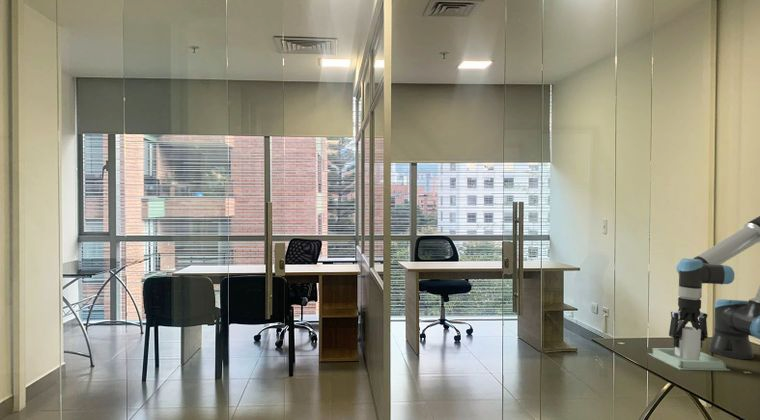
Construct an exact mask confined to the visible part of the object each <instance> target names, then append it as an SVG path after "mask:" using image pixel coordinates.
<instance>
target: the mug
mask: <svg viewBox="0 0 760 420" xmlns="http://www.w3.org/2000/svg"><path fill="white" fill-rule="evenodd" d="M680 339H681V340H682V357H680V358H682V359H685V360H689V361H699V353H700V352H701V349H700V339H701V329H698V330H696V329H695V328H694V327H692V326H685V328H682V336H681V338H680Z"/></svg>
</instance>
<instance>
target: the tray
mask: <svg viewBox="0 0 760 420" xmlns="http://www.w3.org/2000/svg"><path fill="white" fill-rule="evenodd" d="M648 354H649V355H648ZM647 355H648V356H650V355H651V357H653V358H654V359H657V360H659V361H661V362H663V363H665V364H667V365H669V366H671V367H673V368H675V369H678V370H679V371H726V372H727V371H729V372H730V371H731V369H729V368H727V367H726V365H727V364H726V363H727V362H726V361H725V360H722V359H720V358H717V357H714V356H713V355H709V354H707V353H705V352H703V351H700V357H699V361H689V360H685V359H682V358H680V356H677V355H675V347H674V348H673V347H672V348H671V347H669V348H668V347H667V348H665V347H661V348H660V347H659V348H657V347H653V348H651V353H649V352H647Z"/></svg>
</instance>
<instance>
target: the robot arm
mask: <svg viewBox="0 0 760 420" xmlns="http://www.w3.org/2000/svg"><path fill="white" fill-rule="evenodd" d="M758 243H760V215H759V216H757V217H755V218H753V219H752V220H751V219H750V221H748V222H747V223H745V224H744V225H743V228H741V229H740V230H738V231H737V232H735V233H733V234H732V235H729V236H728V237H726V238H724V239H723V240H722V241H720V242H718V243H717V244H715V245H714V246H712V247H710V248H708V249H707V250H704V251H703V252H702V253H700V254H698V255H697V256H695V257H693V258H682V259H680V261H679V262H678V263H677V265H676V272H677V273H678V292H677V293H678V294H677V295H678V296H679V297H678V298H677V306H678V310H677V311H670V317H671V318H670V325H669V330H668V336H669V337H671V338H673V346H674V349H675V355H677V356H680V357H682V340H681V339H680V338H681V336H682V328H685V326H686V325H688V323H689V322H690V323H691V327H694V328H695V329H696V330H698V329H701V339H700V350H702V348H703V342H704V341H705V340H706V339H708V338H709V337H708V336H709V335H708V324H707V323H708V322H707V318H708V316H709V315H708V314H707V313H704V312H702V311H701V310H700V309H701V308H702V300H701V298H702V291H703V290H702V289H703V287H702V286H703V284H710V285H712V284H713V285H730V284H732V283H733V282H734V280H735V271H734V269H733V267H731V266H729V265H726V264H725V265H724V263H726V262H727V261H729V260H731V259H732V258H734V257H736V256H737V255H740V254H741V253H742V252H744V251H746V250H747V249H750V248H751V247H752V246H755V245H756V244H758ZM713 330H714V331H713V332H714V333H713V335H712V337H711V340H710V342H709V343H708V351H709V352H711V353H713V354H716V355H719V356H722V357H728V358H732V359H738V360H739V359H741V360H752V359H754V357H755V355H754V352H755V351H754V350H753V348H752V344H751V340H750V337H754V338H755V339H758V340H760V286H759V287H758V290H757V292H756V294H755V297H752V298H750V299H748V300H739V299H726V298H725V299H717V300H716V301H715V305H714V329H713ZM699 357H700V353H699Z"/></svg>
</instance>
